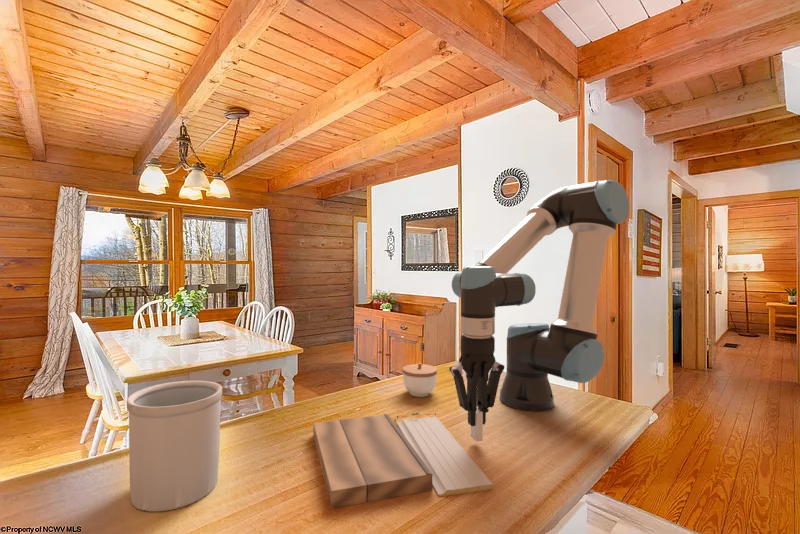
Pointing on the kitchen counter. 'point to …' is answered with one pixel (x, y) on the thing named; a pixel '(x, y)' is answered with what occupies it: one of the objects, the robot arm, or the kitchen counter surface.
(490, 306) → the robot arm
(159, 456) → the utensil holder
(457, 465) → the baseboard molding
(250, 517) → the kitchen counter surface
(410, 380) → the lidded jar
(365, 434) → the grooved tan panel
